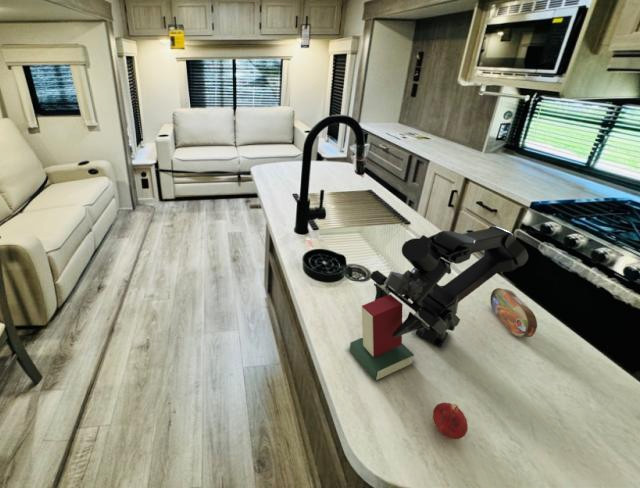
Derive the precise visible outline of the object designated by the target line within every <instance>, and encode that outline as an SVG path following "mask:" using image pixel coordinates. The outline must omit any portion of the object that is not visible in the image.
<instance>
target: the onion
mask: <svg viewBox="0 0 640 488" xmlns="http://www.w3.org/2000/svg"><path fill="white" fill-rule="evenodd" d="M432 420H433V423H434V426H435V427H436V428H437V430H438V432H440V434H442V436H444V437H446V438H447V439H450V440H461V439H462V438H464V437H465V436H466V435H467V432H468V429H469V428H468V427H469V426H468V419H467V418H466V415H465V413H464V412H463V410H461V409H460V408H459V406H458V405H457V404H456V403H450V402H440V403H437V404H436V406H435V407H434V408H433V410H432Z"/></svg>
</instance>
